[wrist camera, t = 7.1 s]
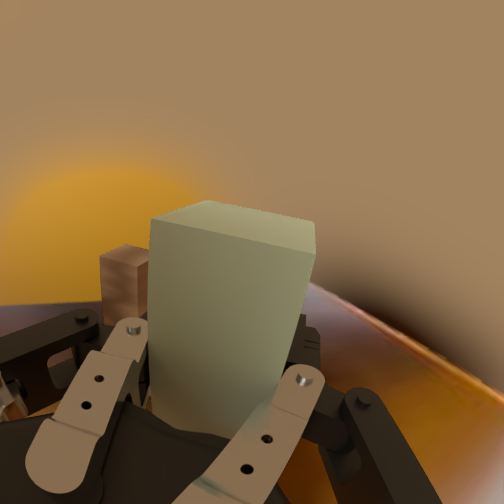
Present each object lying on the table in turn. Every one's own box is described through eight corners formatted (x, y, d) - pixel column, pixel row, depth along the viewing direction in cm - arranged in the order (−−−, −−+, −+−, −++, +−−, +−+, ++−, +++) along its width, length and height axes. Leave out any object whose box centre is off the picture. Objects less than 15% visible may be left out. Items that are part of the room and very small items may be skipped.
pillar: (159, 466, 10) (151, 218, 7) (187, 414, 14) (206, 200, 11) (238, 491, 10) (315, 254, 6) (254, 434, 14) (314, 222, 10)
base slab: (91, 369, 23) (76, 263, 19) (136, 327, 31) (135, 237, 28) (276, 433, 20) (312, 327, 17) (287, 370, 29) (313, 276, 25)
